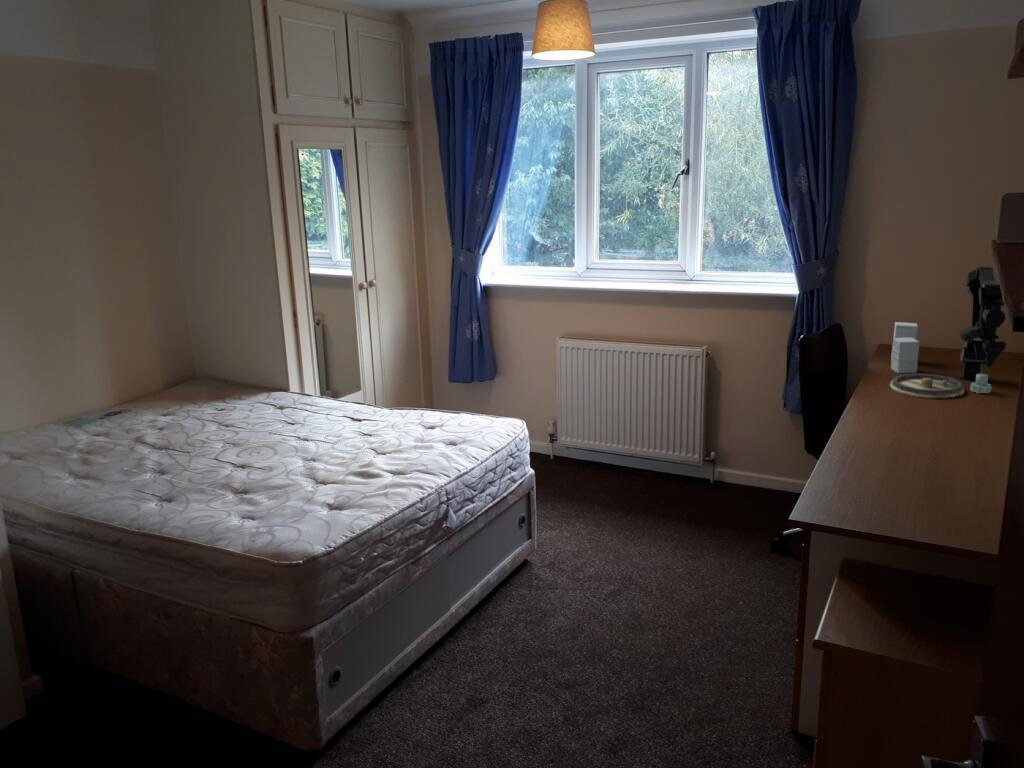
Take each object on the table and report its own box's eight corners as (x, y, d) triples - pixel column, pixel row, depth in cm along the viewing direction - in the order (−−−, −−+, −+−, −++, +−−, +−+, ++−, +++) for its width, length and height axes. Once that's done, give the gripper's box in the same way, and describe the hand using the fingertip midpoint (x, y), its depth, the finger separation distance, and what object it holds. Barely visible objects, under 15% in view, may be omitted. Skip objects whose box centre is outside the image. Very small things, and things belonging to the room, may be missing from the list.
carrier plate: (912, 375, 303) (913, 366, 302) (977, 389, 284) (978, 379, 283) (876, 388, 291) (876, 379, 290) (941, 402, 271) (942, 393, 270)
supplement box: (909, 368, 314) (912, 337, 310) (917, 373, 306) (920, 341, 303) (890, 368, 314) (892, 337, 311) (897, 373, 307) (899, 341, 304)
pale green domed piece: (975, 387, 286) (977, 371, 284) (993, 391, 281) (995, 375, 279) (967, 391, 282) (969, 375, 281) (984, 394, 278) (986, 378, 276)
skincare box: (891, 362, 322) (895, 325, 318) (890, 358, 328) (894, 321, 324) (914, 363, 319) (918, 325, 315) (913, 359, 325) (917, 322, 321)
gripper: (954, 314, 285) (949, 356, 289) (973, 326, 267) (967, 370, 272) (988, 314, 283) (983, 356, 287) (1009, 325, 265) (1003, 370, 269)
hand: (983, 363), depth 279 cm, fingers open, 9 cm apart
